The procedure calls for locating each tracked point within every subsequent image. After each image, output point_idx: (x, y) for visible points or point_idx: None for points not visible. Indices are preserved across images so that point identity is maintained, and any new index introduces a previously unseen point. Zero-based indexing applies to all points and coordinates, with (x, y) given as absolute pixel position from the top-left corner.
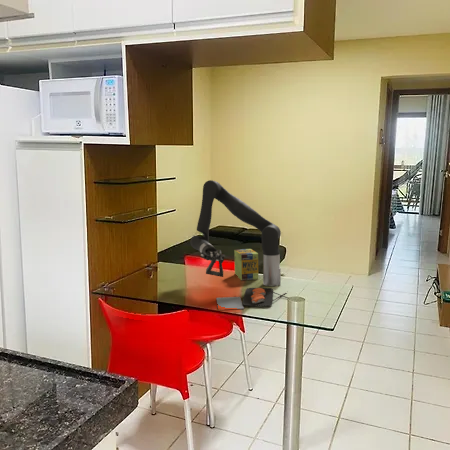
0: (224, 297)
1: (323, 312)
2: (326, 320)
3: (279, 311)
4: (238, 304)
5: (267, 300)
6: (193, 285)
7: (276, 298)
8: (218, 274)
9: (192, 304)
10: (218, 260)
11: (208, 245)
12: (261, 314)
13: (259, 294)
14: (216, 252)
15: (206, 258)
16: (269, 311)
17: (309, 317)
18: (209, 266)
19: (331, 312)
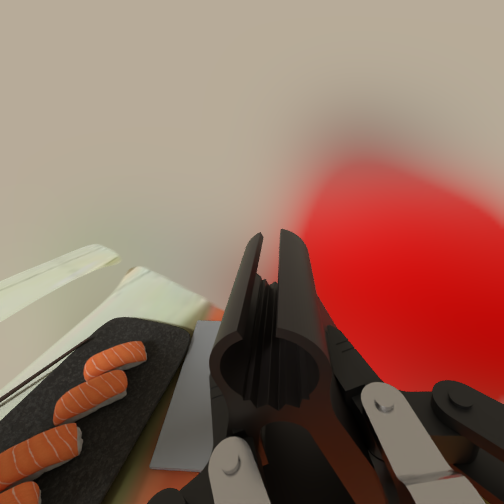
0: None
1: (30, 282)
2: (73, 256)
3: (116, 298)
4: (201, 352)
5: (72, 379)
6: None
7: (30, 377)
8: (270, 425)
9: None
10: (267, 492)
11: None
12: (170, 289)
13: (81, 386)
14: (301, 255)
15: (487, 458)
16: (139, 301)
17: (87, 267)
18: None
19: (15, 280)
